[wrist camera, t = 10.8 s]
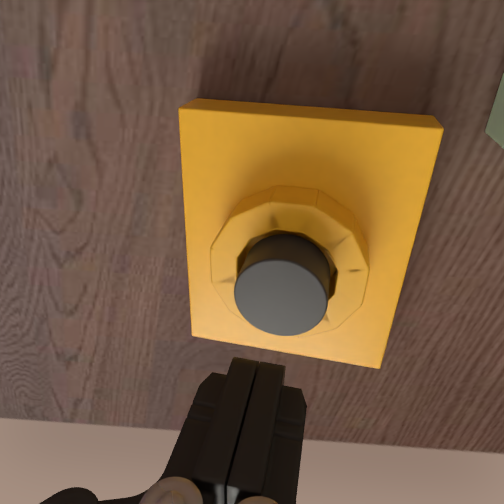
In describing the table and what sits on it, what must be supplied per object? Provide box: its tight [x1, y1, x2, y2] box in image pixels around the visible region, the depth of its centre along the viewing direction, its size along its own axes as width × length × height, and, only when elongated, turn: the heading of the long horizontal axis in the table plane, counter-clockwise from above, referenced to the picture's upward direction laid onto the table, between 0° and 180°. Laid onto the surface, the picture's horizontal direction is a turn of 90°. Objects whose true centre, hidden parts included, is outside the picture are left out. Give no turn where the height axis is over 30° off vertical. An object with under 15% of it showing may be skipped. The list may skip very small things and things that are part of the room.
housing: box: [178, 98, 444, 369], centre depth 18 cm, size 12×10×4 cm
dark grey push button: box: [234, 234, 330, 336], centre depth 16 cm, size 4×4×2 cm
